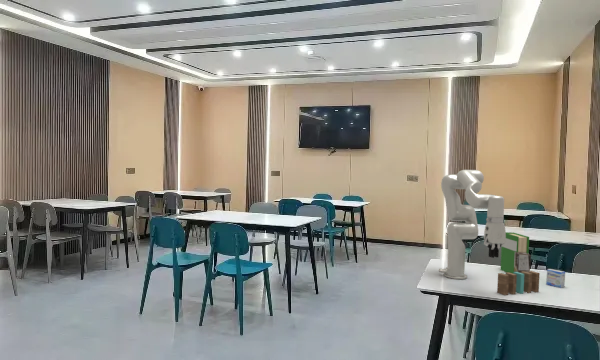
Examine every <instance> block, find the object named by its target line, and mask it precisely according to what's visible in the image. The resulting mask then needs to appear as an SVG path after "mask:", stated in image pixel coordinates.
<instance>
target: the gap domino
mask: <svg viewBox="0 0 600 360" xmlns="http://www.w3.org/2000/svg"><path fill="white" fill-rule="evenodd" d="M513 274H516V275H517V280H516V294H520V295H521V294H524V293H525V292H524V274H522V273H519V272H514V273H513Z"/></svg>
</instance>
